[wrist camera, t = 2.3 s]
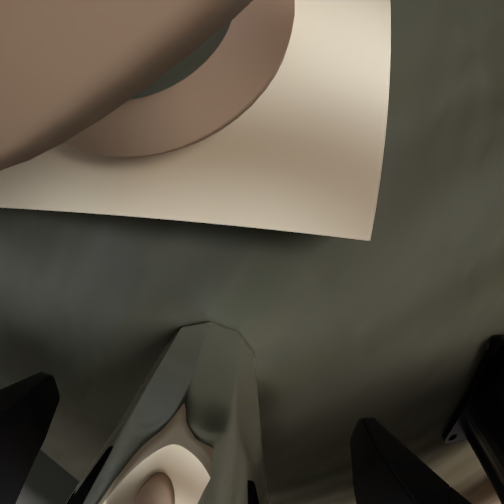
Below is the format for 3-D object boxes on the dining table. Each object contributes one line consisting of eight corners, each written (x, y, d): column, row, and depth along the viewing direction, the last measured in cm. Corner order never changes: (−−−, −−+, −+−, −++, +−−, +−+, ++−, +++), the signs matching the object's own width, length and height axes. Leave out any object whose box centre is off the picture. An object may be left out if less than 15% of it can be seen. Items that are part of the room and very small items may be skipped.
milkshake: (282, 286, 10) (321, 666, 1) (267, 408, 12) (266, 654, 2) (143, 275, 10) (-59, 547, 1) (155, 395, 12) (76, 617, 2)
